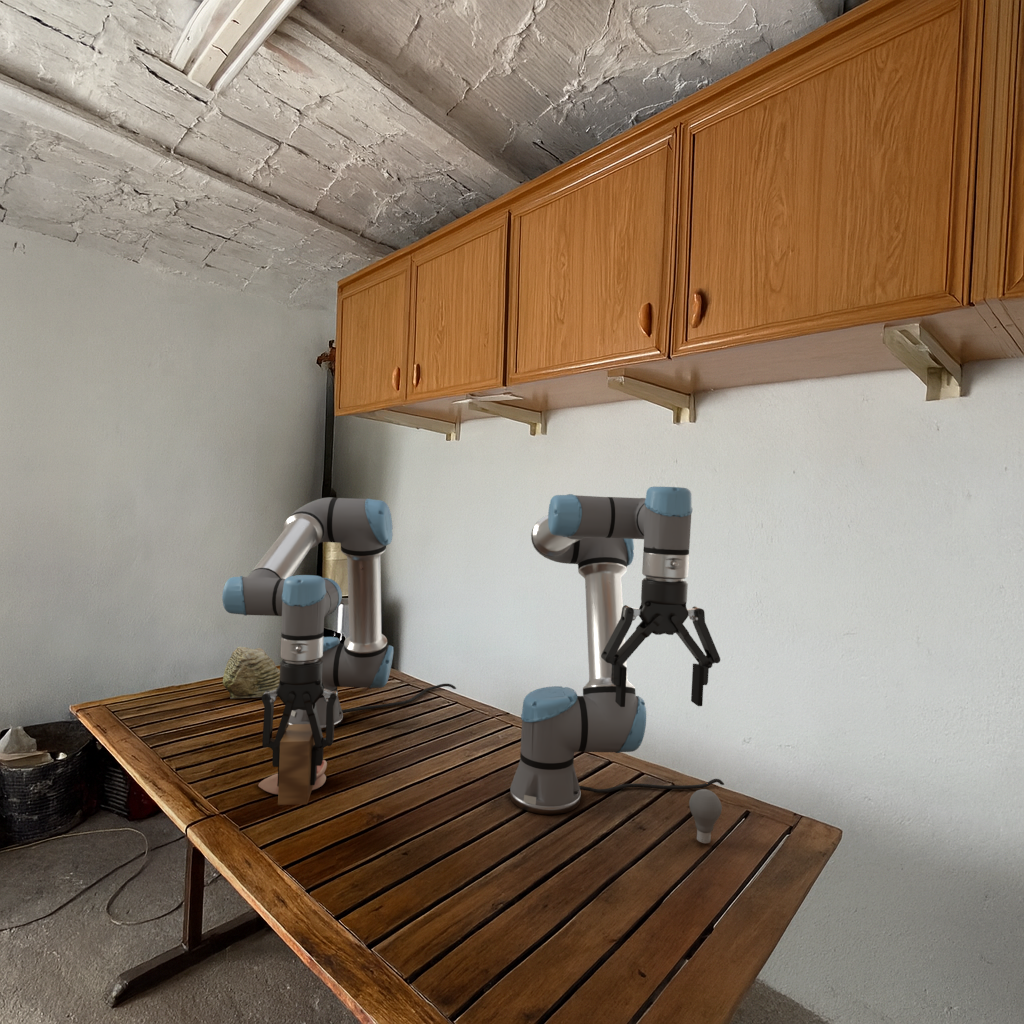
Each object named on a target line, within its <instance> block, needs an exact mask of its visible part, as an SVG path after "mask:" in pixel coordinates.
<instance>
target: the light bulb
mask: <svg viewBox="0 0 1024 1024" xmlns="http://www.w3.org/2000/svg"><path fill="white" fill-rule="evenodd" d="M688 802H689V803H688V806H689V811H690V813H691V815H692V817H693V820H694V822H695V827H696V840H697V841H698V842H699V843H701V844H709V843H711V840H712V831H713V830H714V826H715V824H716V822H717V821H718V820H719V819H720V816H721V815H722V810H723V805H722V802H721V800H720V798H719V796H718V795H717V794H716V793H715V792H714V791H713V790H710V789H706V788H699V789H696V791H694V792H693V793H692V794H691V796H690V797H689V801H688Z"/></svg>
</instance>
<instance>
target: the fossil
mask: <svg viewBox="0 0 1024 1024" xmlns="http://www.w3.org/2000/svg"><path fill="white" fill-rule="evenodd" d="M222 676H223V677H222V685H223V687H224V688H225V690H226V691H228V693H229V698H230V699H250V698H261V697H262V695H263V694H264V693H265V691H267V690H269V691H272V690H276V689H277V687H278V686H279V683H280V668H278V667H277V665H276V663H275V662H274V660H273V659H272V658H271V657H270V656H269V655H268V654H267V653H266V652H265V650H264V649H263V648H260V647H258V648H251V647H247V646H246V647H245V646H238V647H237V648H236V649H235V650H233V651H232V653H231V656H230V657H229V659H228V660H227V663H226V666H225V668H224V671H223V675H222Z"/></svg>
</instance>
